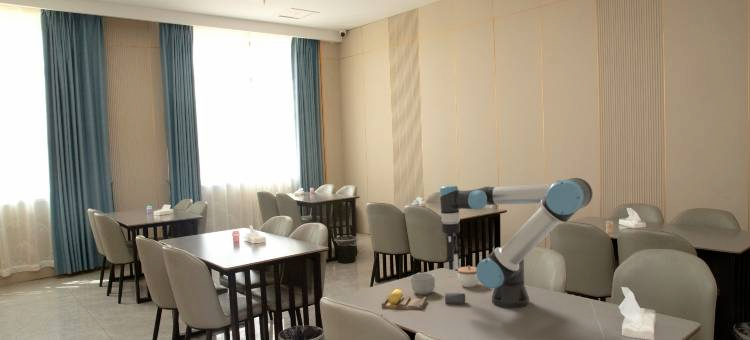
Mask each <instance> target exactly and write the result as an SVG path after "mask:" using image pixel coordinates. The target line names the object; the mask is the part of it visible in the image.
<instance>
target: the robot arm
mask: <svg viewBox="0 0 750 340" xmlns="http://www.w3.org/2000/svg"><path fill="white" fill-rule="evenodd" d="M458 188H459V187H458V185H455V184H454V185H451V184H449V185H443V186H441V187H440V188H439V201H440V202H439V203H440V214H439V217H440V218H441V222H442V223H441V232H442V233H444V234H447V236H446V239H445V240H446V259H445V262H447V272H448V273H447V274H448V278H456V270H458V269H459V268H460V267H459V254H460V250H459V248H458V237H457V233H459V232H460V231H461V223H460V221H461V217H460V210H461V209H463V210H464V209H465V210H476V211H477V210H483V209H485V208H486V206H498V205H524V204H525V205H529V204H530V205H531V204H533V205H534V204H535V205H536V204H540V205H541V206H540V207H539V208H538V209H537V210H536V211H535V212H534V213H533V214H532V215H531V217H529V218H528V220H527V221H526V222H525V223H524V224H523V225H522V226H521V227H520V228H519V229H518V230H517V231H516V232H515V233H514V235H512V237H510V239H508V241H507V242H506V243H505V244H504V245H503V246H501V247H500V246H499V247H498V246H497V247H496V248H494V250H493V251H492V252H490V253H489V255H488V256H487V257H486V258H483V259H481V260H480V261H479V262H478V264H477V266H476V267H477V268H476V272H477V277H478V279H479V283H480V284H482V286H484V287H485V288H488V289H493V292H492V295H491V303H492V304H493V305H494V306H497V307H500V308H507V309H517V308H518V309H519V308H523V307H524V308H525V307H527V306H529V305H530V297H529V294H528V291H527V288H526V285H525V258H526V257H527V256H528V255H529V254H530V253H531V252H532V251H533V250H534V249H535V248H536V247H537V246H538V245H539V244H540V243H541V242H542V241H543V240H544V239H546V237H547V236H548V235H549V234H550V233H551V231H553V230H554V228H556V227H557V226H558V225H559V224H560V223H566V222H568V221H569V220H570V219H571V218H572V217H573V216H574V215H575V214H576V213H577V212H578V211H579V210H580V209H583V208H585V207H586V206H588V205H589V204H590V203H591V201H592V200H593V199H592V198H593V189H592V187H591V185H590V183H588V181H586V180H585V179H583V178H580V177H572V178H569V179H567V178H566V179H563V180H555V182H554V183H540V184H538V183H537V184H524V185H522V184H521V185H505V186H503V185H502V186H483V187H480V188H476V189H471V190H469V189H468V190H459V189H458Z"/></svg>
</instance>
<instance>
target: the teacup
mask: <svg viewBox="0 0 750 340" xmlns="http://www.w3.org/2000/svg"><path fill="white" fill-rule="evenodd" d="M435 281H436V280H435V274H433V273H432V272H431V273H429V272H417V273H414V274H412V275H411V276H410V282H411V289H412V291H413V292H415V293H416V294H417V295H420V296H422V295H423V296H424V295H430V294H431V293H432V292H433V291H434V290H435V287H436V285H435V284H436V283H435Z"/></svg>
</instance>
